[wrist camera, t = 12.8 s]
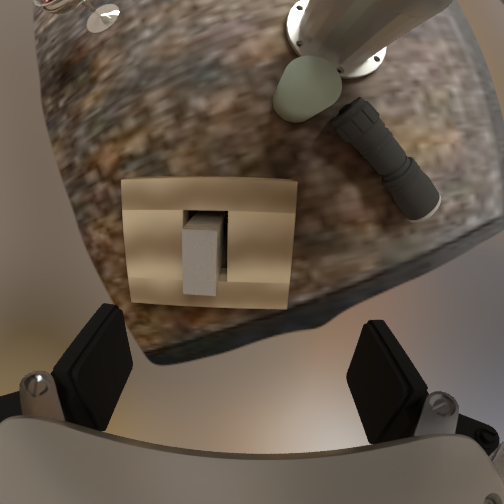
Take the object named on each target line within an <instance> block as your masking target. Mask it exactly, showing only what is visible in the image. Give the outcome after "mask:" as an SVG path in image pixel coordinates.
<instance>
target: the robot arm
mask: <svg viewBox="0 0 504 504" xmlns="http://www.w3.org/2000/svg"><path fill="white" fill-rule="evenodd" d="M452 1H453V0H299V1H298V2H297V3H295V4H294V6H293V7H292V8H291V9H290V11H289V14H288V16H287V20H286V34H287V39H288V41H289V43H290V45H291V47H292V48H293V50H294V51H295V53H296V54H297V55H298V56H299V57H301V56H317V57H320V58H322V59H325V60H326V61H328V62H329V63H331V64H332V65H333V66H334V67H335V68H336V70H338V71H340V73H339V72H338V73H339V75H340V77H341V79H356V78H361V77H364V76H367V75H368V74H370V73H372V72H373V71H375V70H376V69H377V68H379V66H380V65H381V64H382V62H383V60H384V58H385V55H386V46H388V45H389V44H391V43H392V42H394V41H395V40H397V39H398V38H400V37H401V36H403V35H404V34H406V33H407V32H409V31H410V30H412V29H413V28H415V27H417V26H418V25H420V24H421V23H423V22H425V21H426V20H428V19H430V18H431V17H433V16H435V15H436V14H438V13H440V12H441V11H443V10H445V9H446V8H447V7H448V6H449V5H450V4H451V3H452ZM500 1H501V2H502V3H503V4H504V0H500ZM299 10H300V11H299ZM297 45H300V47H299V46H297ZM132 367H133V361H132V356H131V352H130V347H129V342H128V338H127V332H126V327H125V322H124V316H123V311H122V310H121V309H119V307H118V306H117V305H113V304H106V303H104V304H102V305H101V307H100V308H99V309H98V310H97V311H96V313H95V314H94V315H93V316H92V318H91V319H90V320H89V322H88V323H87V324H86V325H85V326H84V328H83V329H82V330H81V332H80V333H79V334H78V335H77V337H76V338H75V340H74V341H73V342H72V343H71V345H70V346H69V347H68V349H67V350H66V351H65V353H64V354H63V356H62V357H61V358H60V360H59V361H58V362H57V364H56V365H55V366H54V368H53V369H54V370H53V371H52V373H51V374H49V373H48V372H46V371H33V372H30V373H28V374H27V375H25V377H23V379H22V380H21V382H20V384H19V391H17V392H14V393H11V394H7V395H4V396H0V504H504V442H502V443H501V444H500V443H499V436H498V433H497V432H496V430H495V429H494V428H493V427H491V426H489V425H487V424H484V423H482V422H479V421H477V420H474V419H472V418H469V417H467V416H464V415H461V414H459V405H458V403H457V401H456V400H455V399H454V397H452V396H451V395H450V394H448V393H446V392H442V391H435V392H432V393H430V394H429V393H428V392H427V389H428V387H427V385H426V384H425V382H424V380H423V379H422V377H421V376H420V374H419V372H418V371H417V369H416V368H415V366H414V365H413V363H412V362H411V360H410V359H409V357H408V356H407V354H406V353H405V351H404V349H403V348H402V346H401V345H400V344H399V342H398V341H397V339H396V338H395V336H394V335H393V333H392V332H391V330H390V329H389V327H388V326H387V325H386V323H385V322H384V321H383V320H369V321H368V322H367V324H364V325H363V328H362V331H361V334H360V337H359V340H358V343H357V346H356V349H355V352H354V355H353V358H352V361H351V363H350V366H349V369H348V372H347V376H346V378H347V383H348V386H349V388H350V391H351V394H352V396H353V399H354V402H355V405H356V408H357V410H358V413H359V416H360V419H361V422H362V424H363V427H364V430H365V433H366V436H367V439H368V442H369V443H370V444H372V445H366V446H361V447H353V448H347V449H339V450H331V451H320V452H308V453H289V454H242V453H223V452H211V451H201V450H192V449H183V448H177V447H169V446H163V445H158V444H153V443H148V442H143V441H138V440H134V439H129V438H125V437H120V436H117V435H113V434H109V433H105V432H101V431H105V430H106V428H107V426H108V424H109V421H110V419H111V416H112V414H113V412H114V409H115V407H116V404H117V402H118V400H119V397H120V395H121V393H122V390H123V388H124V386H125V384H126V381H127V379H128V377H129V375H130V372H131V370H132Z"/></svg>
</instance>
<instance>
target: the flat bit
mask: <svg viewBox="0 0 504 504" xmlns="http://www.w3.org/2000/svg"><path fill="white" fill-rule="evenodd" d="M224 213H225V212H220V211H198V212H197V213H196V214H195V215H194V216H193V217H192V218H191V219H190V221H189V222H188V223H187V224H186V225H185V226H184V227H183V229H182V275H183V294H191V295H206V296H216V293H217V287H218V282H219V277H220V272H221V267H222V262H223V236H224Z"/></svg>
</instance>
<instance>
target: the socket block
mask: <svg viewBox="0 0 504 504" xmlns="http://www.w3.org/2000/svg"><path fill="white" fill-rule="evenodd" d="M297 186H298V182H297V181H295V180H292V179H281V178H261V177H234V176H155V177H133V178H128V179H123V180H121V190H122V215H123V230H124V243H125V254H126V263H127V272H128V280H129V288H130V295H131V302H136V303H148V304H162V305H177V306H195V307H217V308H248V309H287V303H288V293H289V283H290V273H291V263H292V252H293V240H294V228H295V215H296V201H297ZM190 210H214V211H228V249H227V268H221V272H220V277H219V282H218V287H217V293H216V296H206V295H191V294H183V275H182V229H183V227H184V226H185V225H186V224H187V223H188V222H189V221H190Z"/></svg>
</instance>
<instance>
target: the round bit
mask: <svg viewBox="0 0 504 504" xmlns="http://www.w3.org/2000/svg"><path fill="white" fill-rule="evenodd" d="M341 91H342V81H341V77H340V75H339V73H338V71H337V70H336V68H335V67H334V66H333V65H332V64H331V63H329V62H328V61H326V60H325V59H322V58H320V57H317V56H301V57H298V58H296V59H294V60H292V61H291V62H290V63H289V64H288V65H287V67H286V69H285V71H284V73H283V75H282V77H281V79H280V81H279V84H278V86H277V88H276V90H275V92H274V95H273V99H272V103H273V107H274V110H275V111H276V113H277V114H278V115H279V116H280V117H281V118H282V119H284V120H286V121H288V122H292V123H300V122H304V121H306V120H308V119H309V118H311V117H313V116H314V115H316V114H318V113H319V112H321V111H323V110H324V109H326V108H328V107H329V106H331V105H333V104H334V103H335V102H336V101H337V100H338V98H339V97H340V94H341Z"/></svg>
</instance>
